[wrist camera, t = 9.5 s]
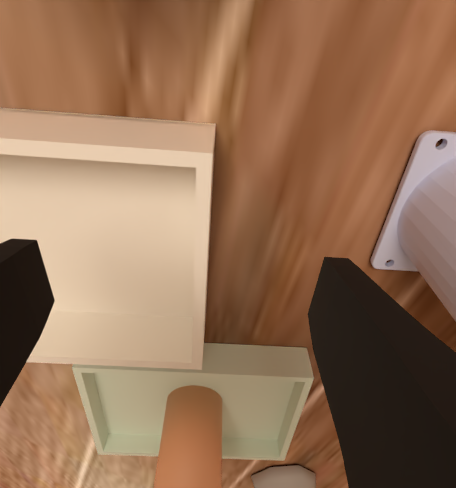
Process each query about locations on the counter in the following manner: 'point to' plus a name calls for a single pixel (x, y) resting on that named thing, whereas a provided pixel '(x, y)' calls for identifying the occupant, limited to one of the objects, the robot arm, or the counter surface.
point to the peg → (191, 440)
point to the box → (113, 232)
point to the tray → (211, 376)
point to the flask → (285, 478)
